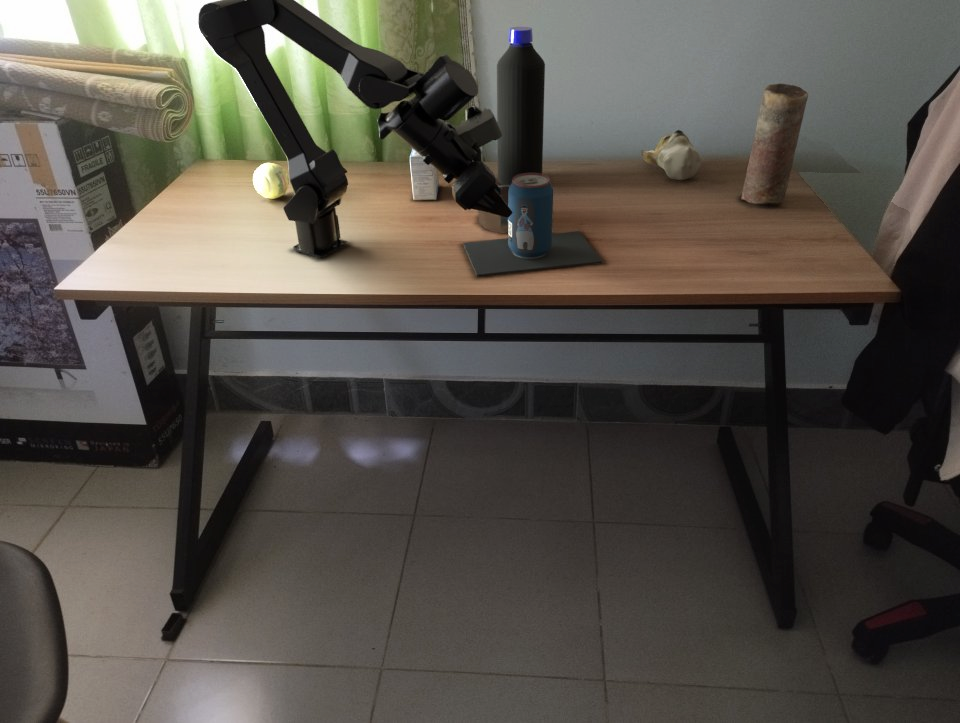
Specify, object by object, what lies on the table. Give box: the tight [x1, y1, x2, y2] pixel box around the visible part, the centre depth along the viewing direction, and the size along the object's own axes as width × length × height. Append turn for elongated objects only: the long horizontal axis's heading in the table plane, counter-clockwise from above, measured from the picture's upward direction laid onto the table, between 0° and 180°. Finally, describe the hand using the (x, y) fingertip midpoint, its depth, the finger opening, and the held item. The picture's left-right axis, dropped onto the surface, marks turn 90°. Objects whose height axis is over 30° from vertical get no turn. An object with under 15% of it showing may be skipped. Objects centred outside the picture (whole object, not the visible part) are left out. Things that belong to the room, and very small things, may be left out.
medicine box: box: [409, 148, 440, 201], centre depth 140 cm, size 8×4×9 cm, turn 179°
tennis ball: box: [252, 162, 290, 199], centre depth 141 cm, size 6×7×7 cm
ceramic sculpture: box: [640, 129, 703, 181], centre depth 148 cm, size 11×9×15 cm
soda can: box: [507, 173, 555, 259], centre depth 116 cm, size 7×7×12 cm
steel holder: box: [477, 184, 510, 234], centre depth 130 cm, size 11×11×4 cm
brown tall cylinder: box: [740, 83, 809, 206], centre depth 130 cm, size 8×7×20 cm
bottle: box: [496, 26, 546, 185], centre depth 140 cm, size 9×9×28 cm
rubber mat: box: [462, 230, 603, 278], centre depth 119 cm, size 20×12×1 cm, turn 101°
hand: (504, 203), depth 114 cm, fingers open, 9 cm apart
